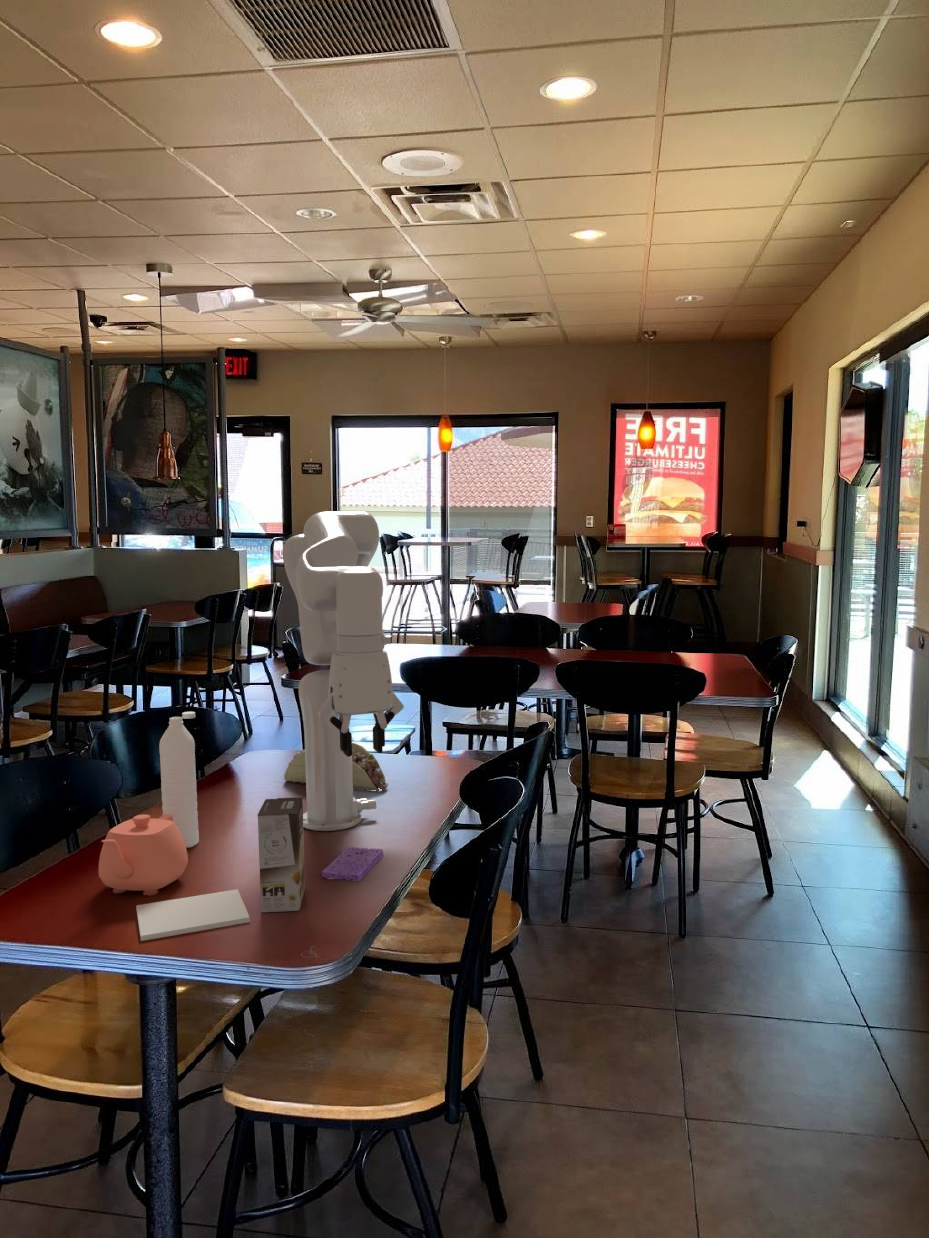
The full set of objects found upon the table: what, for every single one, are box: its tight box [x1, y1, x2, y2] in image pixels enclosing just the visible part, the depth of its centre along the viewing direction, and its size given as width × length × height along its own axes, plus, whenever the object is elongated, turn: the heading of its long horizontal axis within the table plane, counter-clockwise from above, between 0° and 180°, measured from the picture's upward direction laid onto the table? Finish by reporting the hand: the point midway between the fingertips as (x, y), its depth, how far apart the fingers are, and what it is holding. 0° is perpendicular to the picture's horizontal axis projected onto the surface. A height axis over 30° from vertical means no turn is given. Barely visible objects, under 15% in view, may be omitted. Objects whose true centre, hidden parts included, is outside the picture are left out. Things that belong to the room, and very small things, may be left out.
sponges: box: [321, 846, 384, 882], centre depth 165 cm, size 7×13×2 cm, turn 166°
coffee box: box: [257, 797, 306, 913], centre depth 150 cm, size 9×6×16 cm
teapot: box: [98, 814, 189, 897], centre depth 157 cm, size 13×20×12 cm, turn 167°
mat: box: [135, 888, 251, 942], centre depth 145 cm, size 16×12×1 cm
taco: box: [283, 742, 389, 791], centre depth 217 cm, size 10×27×10 cm, turn 68°
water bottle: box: [158, 711, 200, 849], centre depth 178 cm, size 9×6×25 cm
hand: (362, 751), depth 154 cm, fingers open, 4 cm apart
